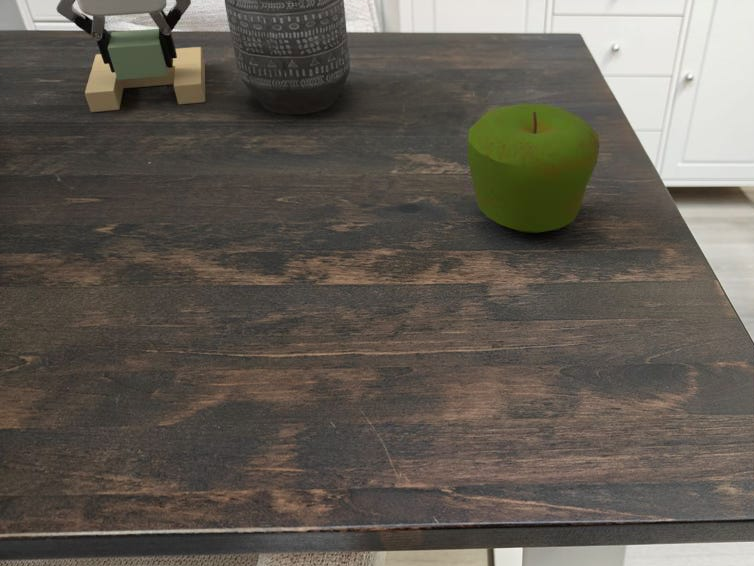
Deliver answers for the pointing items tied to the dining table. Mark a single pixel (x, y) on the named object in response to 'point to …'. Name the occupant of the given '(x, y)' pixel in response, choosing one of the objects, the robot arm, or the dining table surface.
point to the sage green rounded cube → (137, 54)
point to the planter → (290, 51)
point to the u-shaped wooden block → (148, 81)
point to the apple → (531, 165)
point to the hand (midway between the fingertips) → (142, 65)
